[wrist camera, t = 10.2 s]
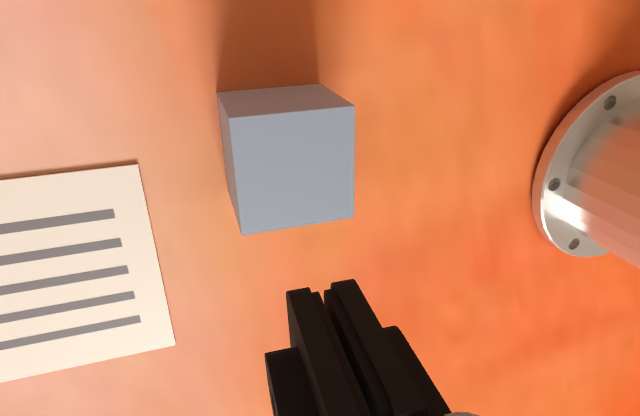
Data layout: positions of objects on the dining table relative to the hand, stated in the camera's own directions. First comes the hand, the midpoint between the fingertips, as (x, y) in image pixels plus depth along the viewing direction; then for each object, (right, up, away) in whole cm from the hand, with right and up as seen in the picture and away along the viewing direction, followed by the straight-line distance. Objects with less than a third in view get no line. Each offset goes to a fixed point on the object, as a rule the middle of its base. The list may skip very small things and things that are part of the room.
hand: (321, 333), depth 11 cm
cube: (-2, +7, +12) cm, 14 cm away
